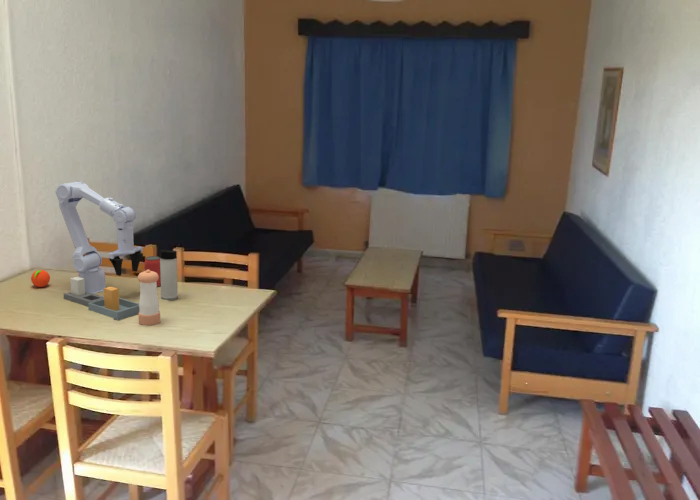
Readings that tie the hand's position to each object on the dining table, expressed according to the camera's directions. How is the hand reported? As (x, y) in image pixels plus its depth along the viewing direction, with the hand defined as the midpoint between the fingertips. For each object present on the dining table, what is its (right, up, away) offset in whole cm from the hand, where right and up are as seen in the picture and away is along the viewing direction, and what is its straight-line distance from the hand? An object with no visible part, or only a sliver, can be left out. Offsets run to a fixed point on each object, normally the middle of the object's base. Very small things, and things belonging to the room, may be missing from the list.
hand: (126, 273), depth 242 cm
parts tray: (0, -14, -12) cm, 18 cm away
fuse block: (-15, -11, -3) cm, 19 cm away
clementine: (-39, -6, +12) cm, 41 cm away
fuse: (-18, -10, -2) cm, 21 cm away
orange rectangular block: (-1, -13, -11) cm, 17 cm away
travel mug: (+15, -10, +5) cm, 19 cm away
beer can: (+4, -6, +21) cm, 22 cm away
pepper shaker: (+15, -17, -20) cm, 31 cm away
